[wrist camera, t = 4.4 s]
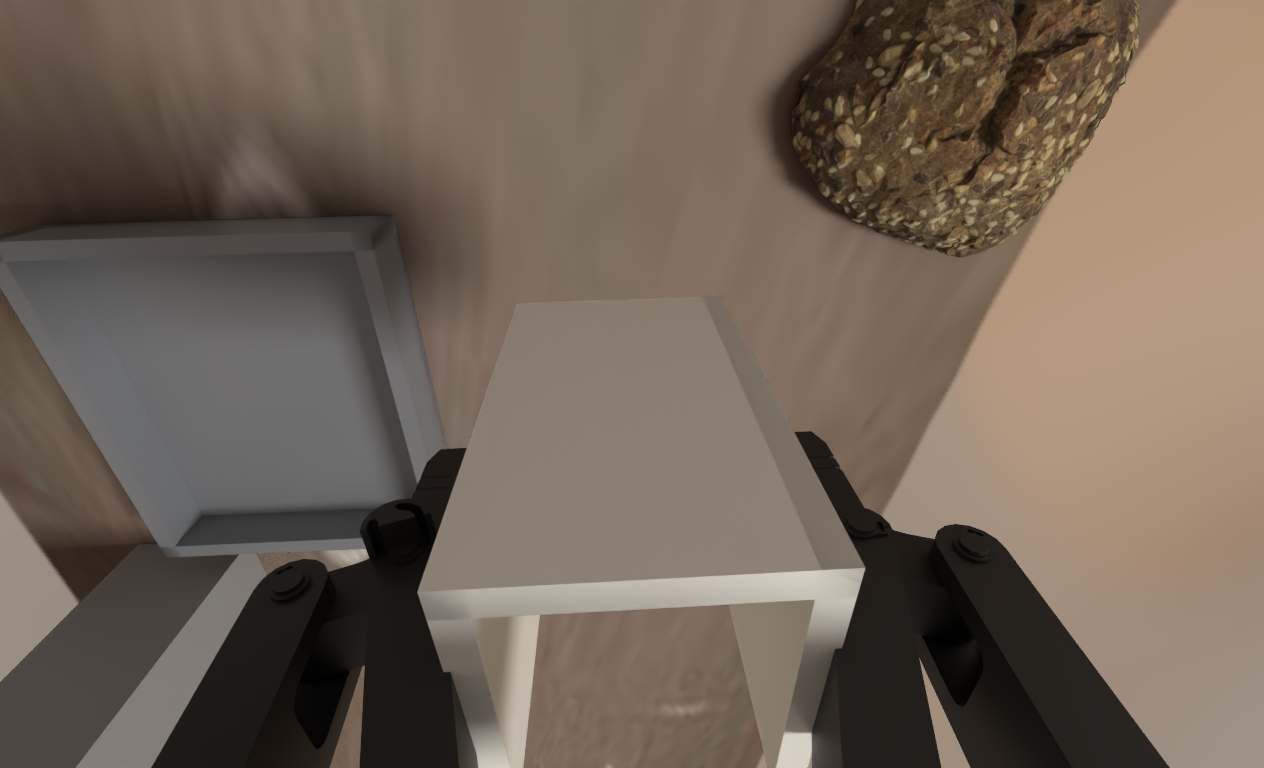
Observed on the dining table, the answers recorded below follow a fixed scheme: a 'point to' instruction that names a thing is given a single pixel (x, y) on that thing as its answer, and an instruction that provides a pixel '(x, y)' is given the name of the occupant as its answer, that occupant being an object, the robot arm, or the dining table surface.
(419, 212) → the dining table surface
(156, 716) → the perfume bottle
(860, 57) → the bread roll
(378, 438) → the tray
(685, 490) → the white u-shaped stool
